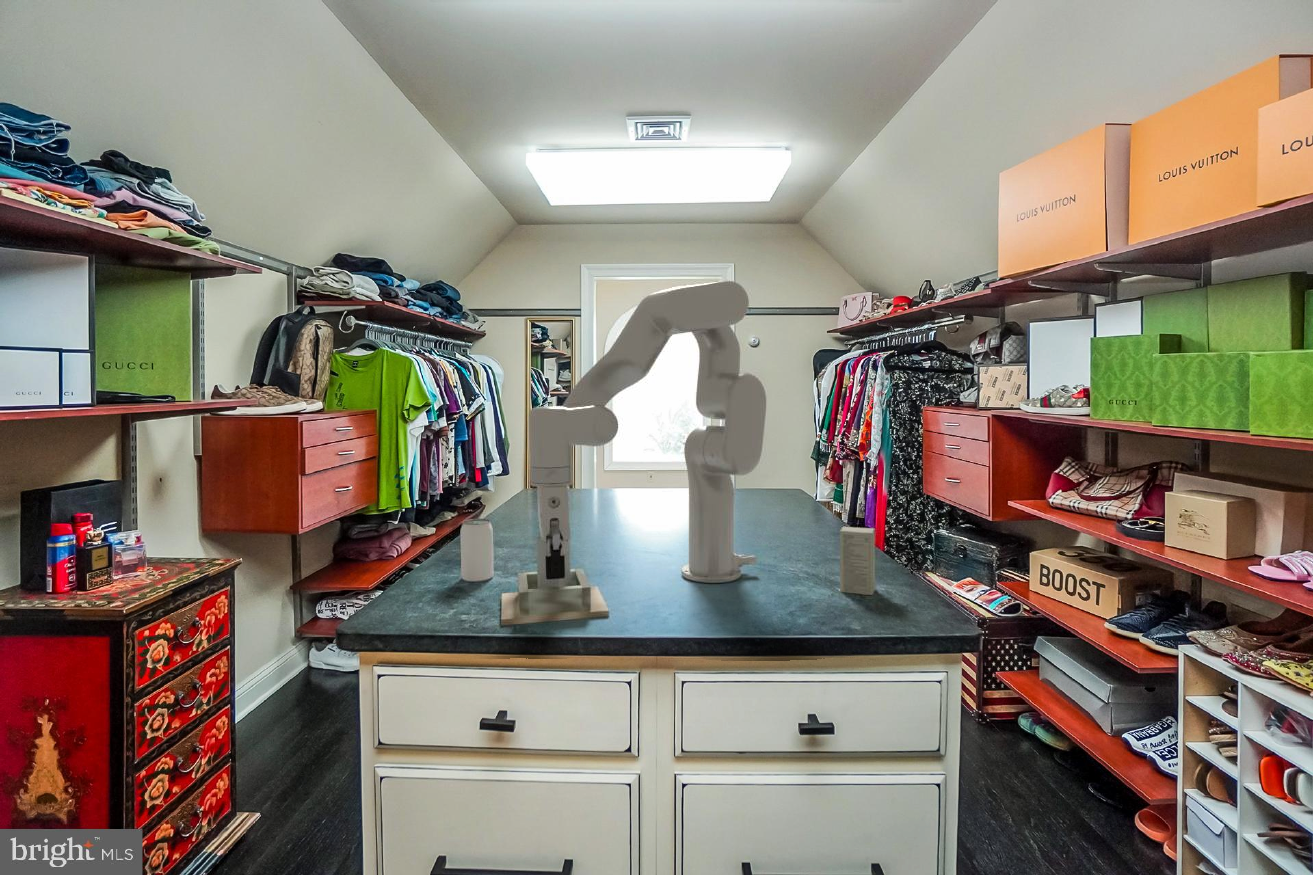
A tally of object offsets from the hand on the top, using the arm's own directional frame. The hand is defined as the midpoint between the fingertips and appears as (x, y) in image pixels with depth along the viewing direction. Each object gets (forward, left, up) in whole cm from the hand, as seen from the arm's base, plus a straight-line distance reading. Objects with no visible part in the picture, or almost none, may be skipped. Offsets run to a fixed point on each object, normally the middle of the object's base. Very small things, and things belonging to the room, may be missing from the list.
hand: (553, 570), depth 111 cm
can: (+14, -22, -7) cm, 27 cm away
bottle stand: (0, 0, -7) cm, 7 cm away
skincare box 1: (0, 0, -6) cm, 6 cm away
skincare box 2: (-58, +5, -7) cm, 58 cm away
